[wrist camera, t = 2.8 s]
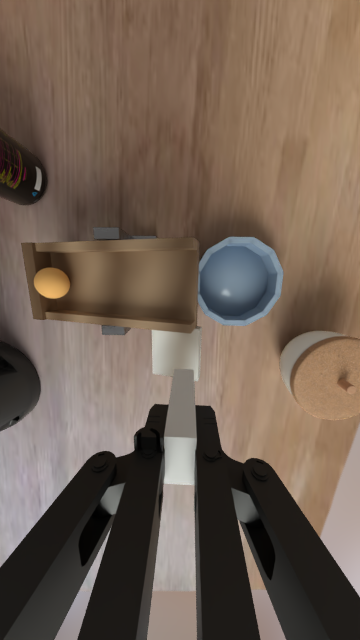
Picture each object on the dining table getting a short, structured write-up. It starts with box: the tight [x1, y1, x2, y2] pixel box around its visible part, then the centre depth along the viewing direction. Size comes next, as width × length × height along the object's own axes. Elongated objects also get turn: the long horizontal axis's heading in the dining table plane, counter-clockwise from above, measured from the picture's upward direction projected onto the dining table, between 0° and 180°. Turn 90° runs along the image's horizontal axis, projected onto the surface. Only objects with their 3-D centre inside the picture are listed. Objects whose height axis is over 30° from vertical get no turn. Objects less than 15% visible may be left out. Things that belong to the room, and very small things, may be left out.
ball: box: [34, 267, 70, 299], centre depth 21 cm, size 3×3×3 cm
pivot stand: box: [93, 227, 157, 335], centre depth 24 cm, size 7×12×9 cm, turn 179°
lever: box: [21, 237, 202, 381], centre depth 21 cm, size 18×14×3 cm
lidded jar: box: [279, 331, 360, 420], centre depth 26 cm, size 11×11×9 cm
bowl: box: [198, 237, 283, 326], centre depth 27 cm, size 11×11×4 cm
